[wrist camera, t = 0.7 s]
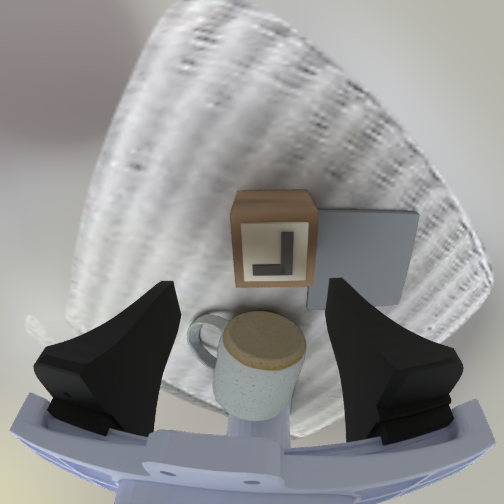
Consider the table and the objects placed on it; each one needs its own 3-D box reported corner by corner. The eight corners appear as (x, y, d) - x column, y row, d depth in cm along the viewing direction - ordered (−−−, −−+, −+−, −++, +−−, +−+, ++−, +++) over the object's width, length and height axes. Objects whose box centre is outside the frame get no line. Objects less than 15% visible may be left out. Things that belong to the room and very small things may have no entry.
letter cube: (304, 250, 22) (314, 289, 17) (241, 251, 22) (235, 290, 18) (306, 189, 20) (320, 214, 15) (237, 190, 20) (229, 215, 15)
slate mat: (395, 300, 24) (398, 304, 23) (306, 305, 24) (307, 310, 24) (416, 211, 20) (419, 214, 19) (312, 209, 20) (314, 212, 20)
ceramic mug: (306, 309, 25) (315, 375, 18) (288, 365, 28) (290, 426, 22) (190, 293, 25) (165, 356, 18) (191, 353, 28) (174, 411, 22)
